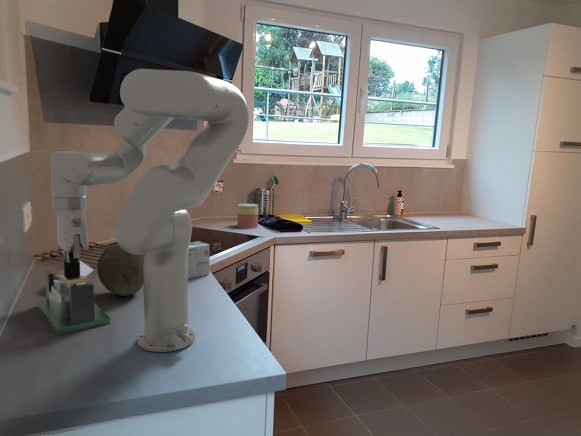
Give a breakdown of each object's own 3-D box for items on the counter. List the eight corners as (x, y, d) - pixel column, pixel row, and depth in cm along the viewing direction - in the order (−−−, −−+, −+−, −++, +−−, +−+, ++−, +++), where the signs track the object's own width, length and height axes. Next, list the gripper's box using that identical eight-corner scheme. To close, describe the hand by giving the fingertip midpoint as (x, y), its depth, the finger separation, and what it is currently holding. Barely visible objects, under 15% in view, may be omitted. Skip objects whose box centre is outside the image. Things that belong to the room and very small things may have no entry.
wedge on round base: (65, 279, 143) (46, 293, 130) (64, 259, 141) (45, 270, 129) (94, 280, 143) (78, 293, 131) (93, 259, 142) (77, 271, 129)
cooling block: (110, 323, 110) (108, 282, 109) (56, 335, 103) (54, 291, 101) (83, 298, 127) (82, 262, 125) (36, 306, 119) (34, 268, 117)
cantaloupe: (157, 289, 136) (156, 241, 134) (132, 305, 123) (131, 252, 120) (115, 284, 139) (113, 237, 137) (86, 300, 125) (84, 248, 123)
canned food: (262, 227, 244) (262, 205, 242) (247, 229, 236) (247, 207, 234) (248, 224, 252) (248, 203, 250) (232, 226, 243) (233, 204, 241)
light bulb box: (199, 270, 158) (199, 240, 156) (210, 274, 153) (210, 244, 152) (172, 275, 151) (172, 244, 149) (182, 280, 146) (182, 248, 144)
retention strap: (88, 282, 108) (88, 276, 108) (70, 285, 105) (70, 278, 105) (68, 277, 122) (68, 271, 122) (52, 279, 120) (52, 273, 119)
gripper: (96, 207, 104) (97, 282, 107) (77, 198, 115) (79, 267, 118) (60, 209, 99) (63, 288, 102) (45, 199, 110) (48, 271, 113)
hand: (72, 276), depth 110 cm, fingers closed
